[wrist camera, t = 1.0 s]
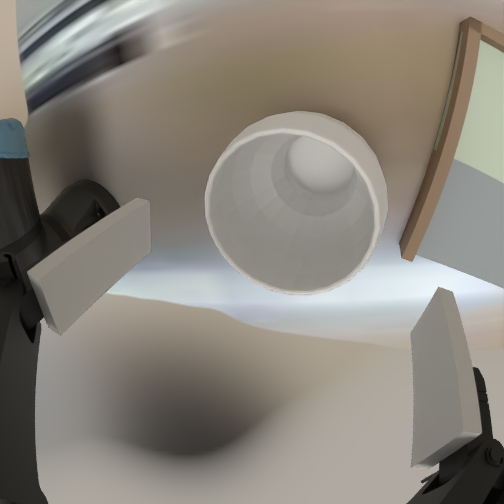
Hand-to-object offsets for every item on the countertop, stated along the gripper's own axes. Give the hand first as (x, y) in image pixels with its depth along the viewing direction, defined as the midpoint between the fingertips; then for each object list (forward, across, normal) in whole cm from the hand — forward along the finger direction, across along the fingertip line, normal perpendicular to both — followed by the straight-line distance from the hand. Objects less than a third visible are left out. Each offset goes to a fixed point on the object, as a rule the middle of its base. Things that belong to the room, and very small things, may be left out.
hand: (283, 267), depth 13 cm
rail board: (+18, +18, +6) cm, 26 cm away
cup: (+19, -1, 0) cm, 19 cm away
